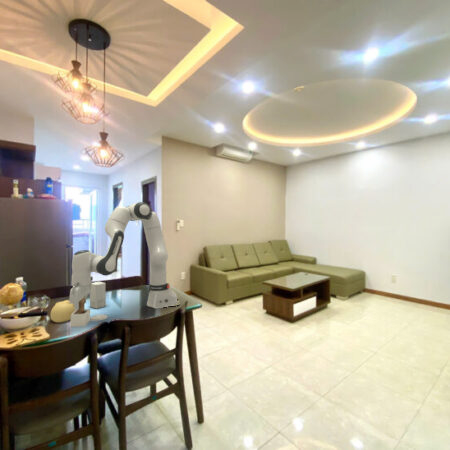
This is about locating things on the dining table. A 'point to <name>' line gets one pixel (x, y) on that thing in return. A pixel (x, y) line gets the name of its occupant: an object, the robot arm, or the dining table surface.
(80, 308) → the dowel
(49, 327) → the dining table surface
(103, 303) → the skincare box
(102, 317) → the coaster
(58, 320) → the pale yellow rounded lump
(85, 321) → the pen cup
